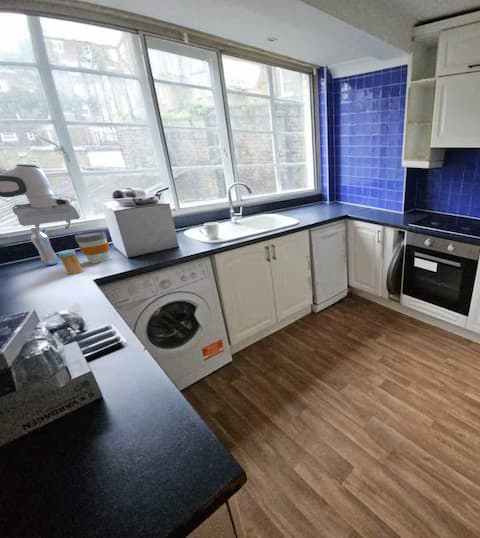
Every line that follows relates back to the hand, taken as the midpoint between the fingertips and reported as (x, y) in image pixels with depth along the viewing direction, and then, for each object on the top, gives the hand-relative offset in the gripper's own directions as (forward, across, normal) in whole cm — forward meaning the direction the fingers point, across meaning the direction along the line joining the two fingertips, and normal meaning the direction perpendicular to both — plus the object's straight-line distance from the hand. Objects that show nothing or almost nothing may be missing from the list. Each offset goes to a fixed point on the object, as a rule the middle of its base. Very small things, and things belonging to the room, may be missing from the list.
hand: (56, 231), depth 138 cm
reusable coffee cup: (+21, +10, +13) cm, 27 cm away
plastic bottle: (+21, -10, +24) cm, 34 cm away
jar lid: (+10, 0, 0) cm, 10 cm away
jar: (+21, 0, 0) cm, 21 cm away
